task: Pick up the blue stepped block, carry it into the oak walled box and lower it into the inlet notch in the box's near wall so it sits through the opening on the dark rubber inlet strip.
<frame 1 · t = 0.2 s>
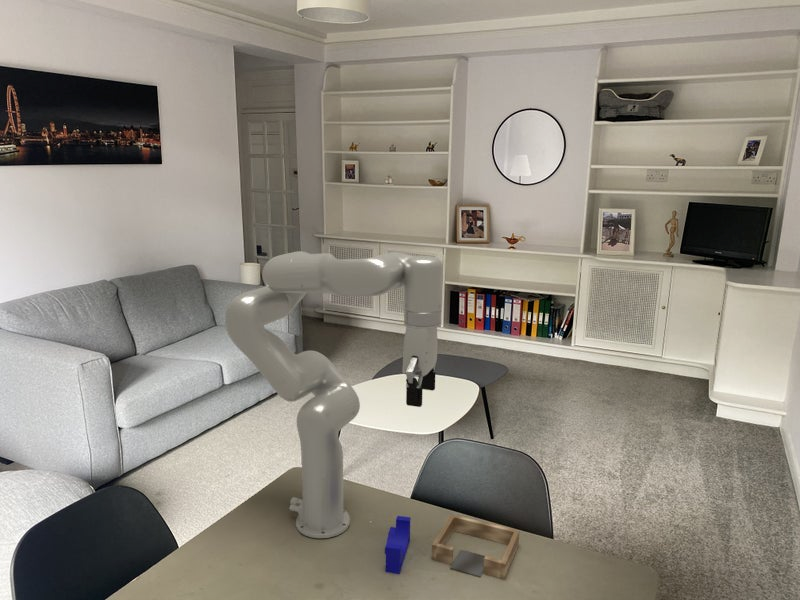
hand: (421, 397, 129), 36 cm above the table, tool pointing down, fingers open, 9 cm apart
blue stepped block: (394, 556, 135), on the table
walled box: (475, 551, 136), on the table
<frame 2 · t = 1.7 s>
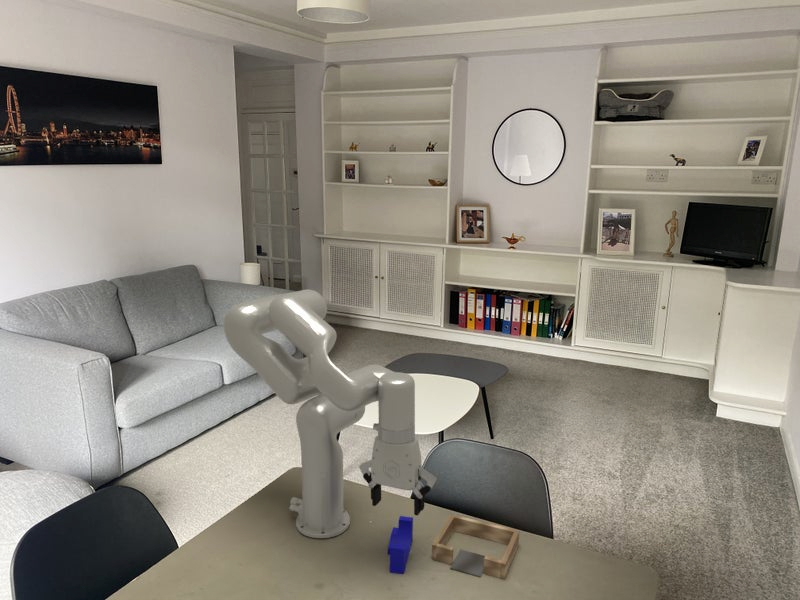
hand: (397, 507, 132), 12 cm above the table, tool pointing down, fingers open, 9 cm apart
nothing on the table moved.
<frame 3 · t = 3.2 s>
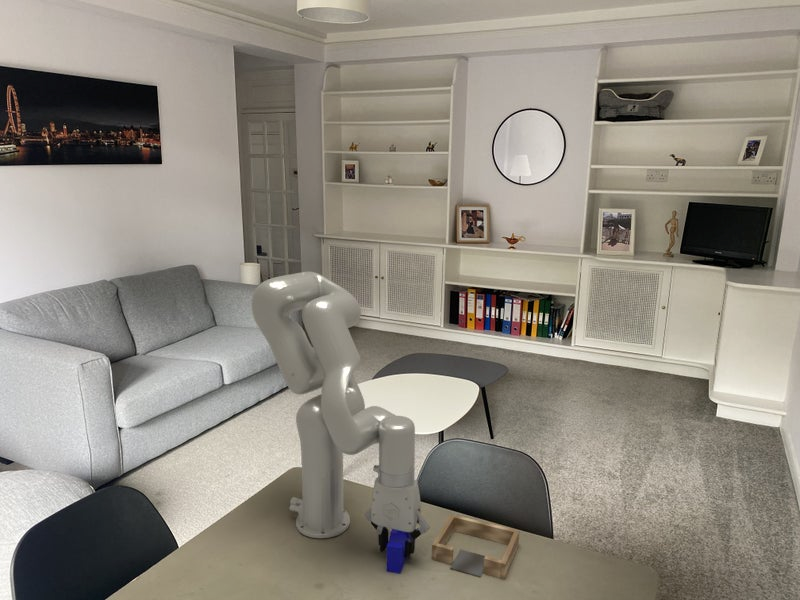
hand: (396, 551, 134), 1 cm above the table, tool pointing down, fingers closed on blue stepped block, 5 cm apart
blue stepped block: (396, 555, 135), on the table, touching gripper
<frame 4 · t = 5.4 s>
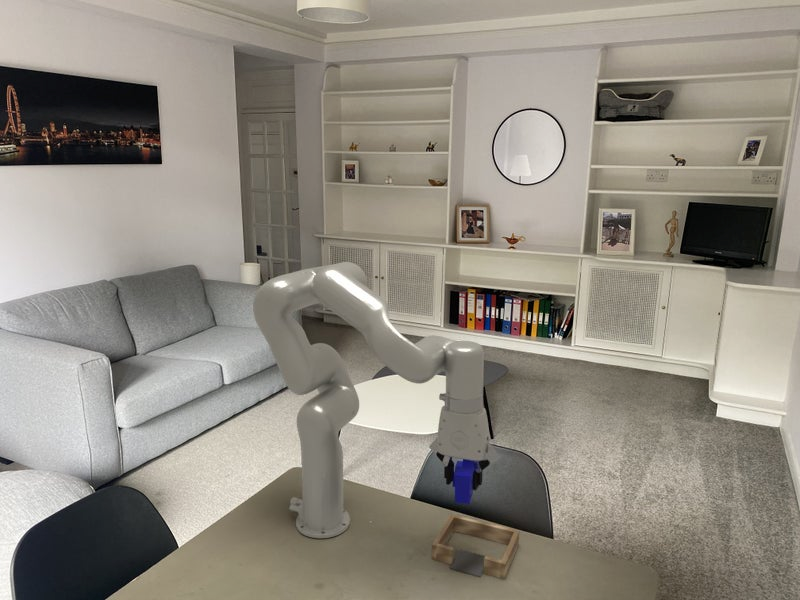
hand: (463, 483, 129), 18 cm above the table, tool pointing down, fingers closed on blue stepped block, 5 cm apart
blue stepped block: (463, 488, 130), point 17 cm above the table, touching gripper
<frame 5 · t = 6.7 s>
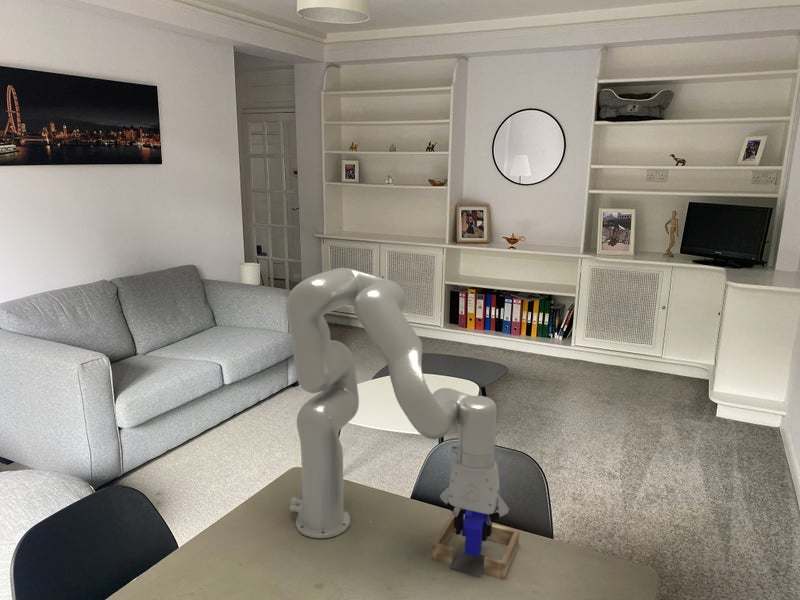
hand: (472, 533, 132), 7 cm above the table, tool pointing down, fingers closed on blue stepped block, 5 cm apart
blue stepped block: (472, 538, 132), point 5 cm above the table, touching gripper
when the fingers open (2 cm above the table, at t = 7.7 s): blue stepped block stays where it is, resting on walled box.
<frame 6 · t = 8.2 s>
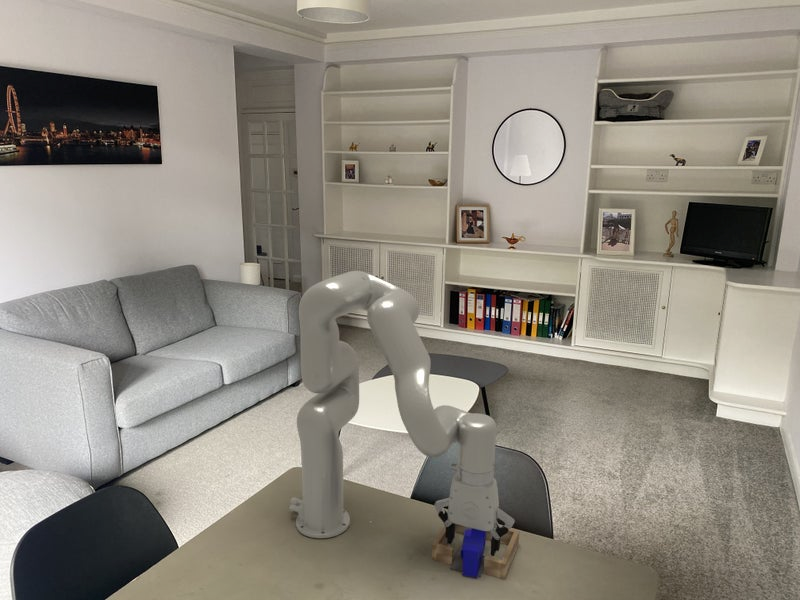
hand: (472, 546, 132), 3 cm above the table, tool pointing down, fingers open, 9 cm apart
blue stepped block: (470, 559, 133), resting on walled box
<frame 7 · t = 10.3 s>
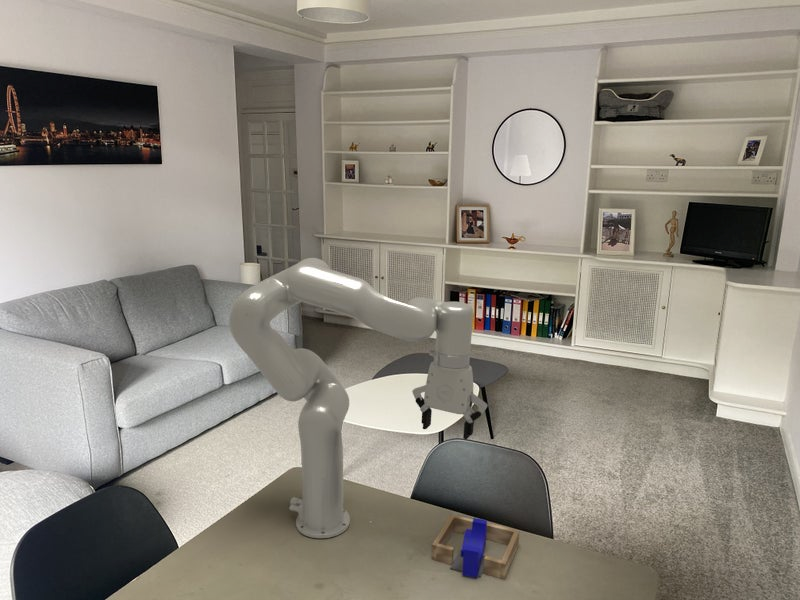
hand: (446, 432, 138), 25 cm above the table, tool pointing down, fingers open, 9 cm apart
nothing on the table moved.
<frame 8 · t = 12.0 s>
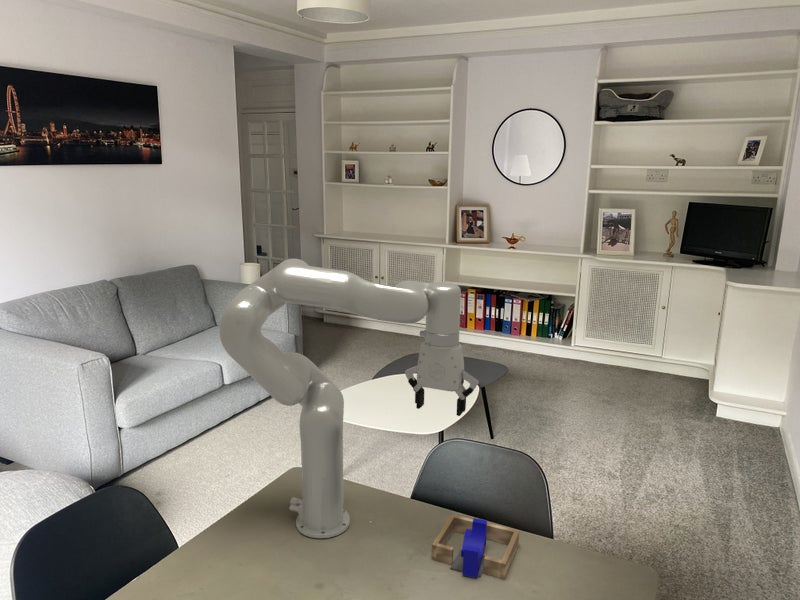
hand: (439, 410, 141), 28 cm above the table, tool pointing down, fingers open, 9 cm apart
nothing on the table moved.
at the end: blue stepped block 0.4 cm from the target spot on the walled box, point 0.1 cm above the walled box's base; blue stepped block tilted 0°; the gripper is holding nothing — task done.
